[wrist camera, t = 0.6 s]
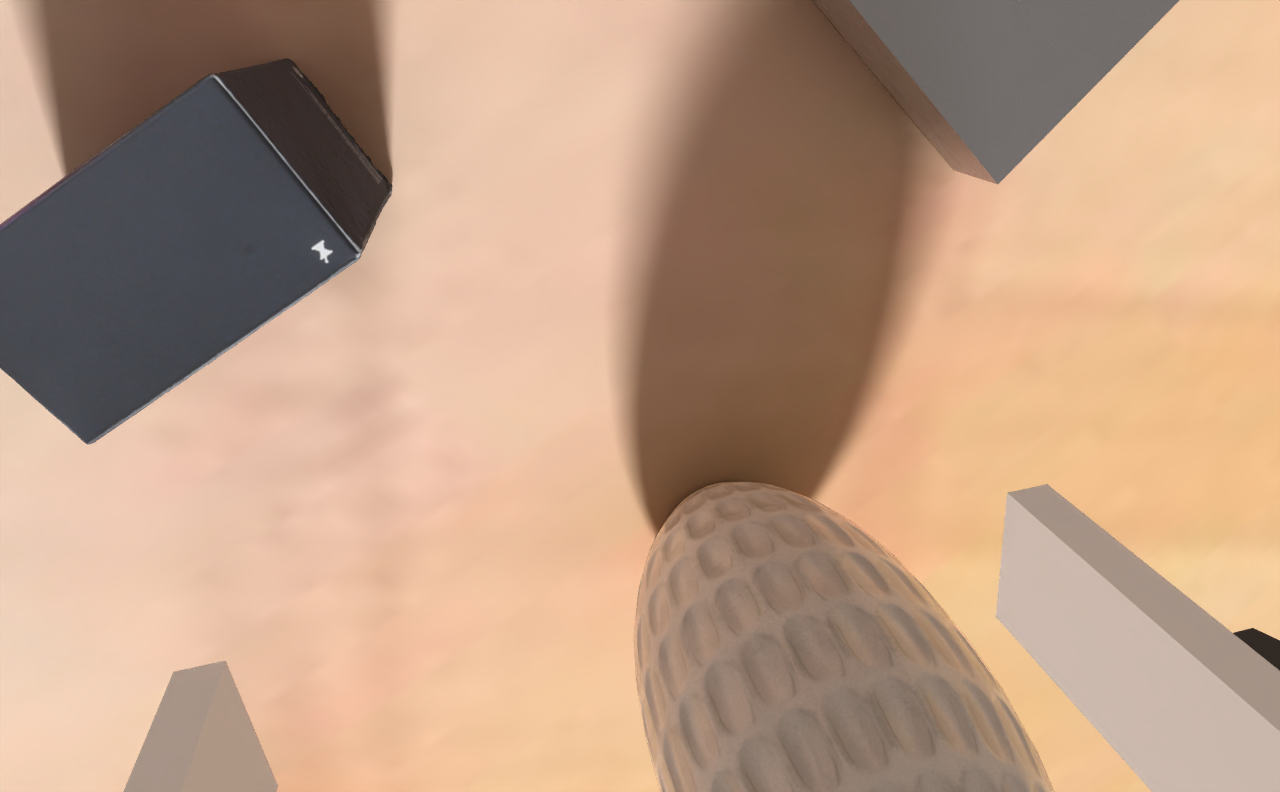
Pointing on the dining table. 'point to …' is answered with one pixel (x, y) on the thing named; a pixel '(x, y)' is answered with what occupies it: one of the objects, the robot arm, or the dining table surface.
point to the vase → (809, 661)
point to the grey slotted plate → (991, 65)
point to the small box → (180, 243)
